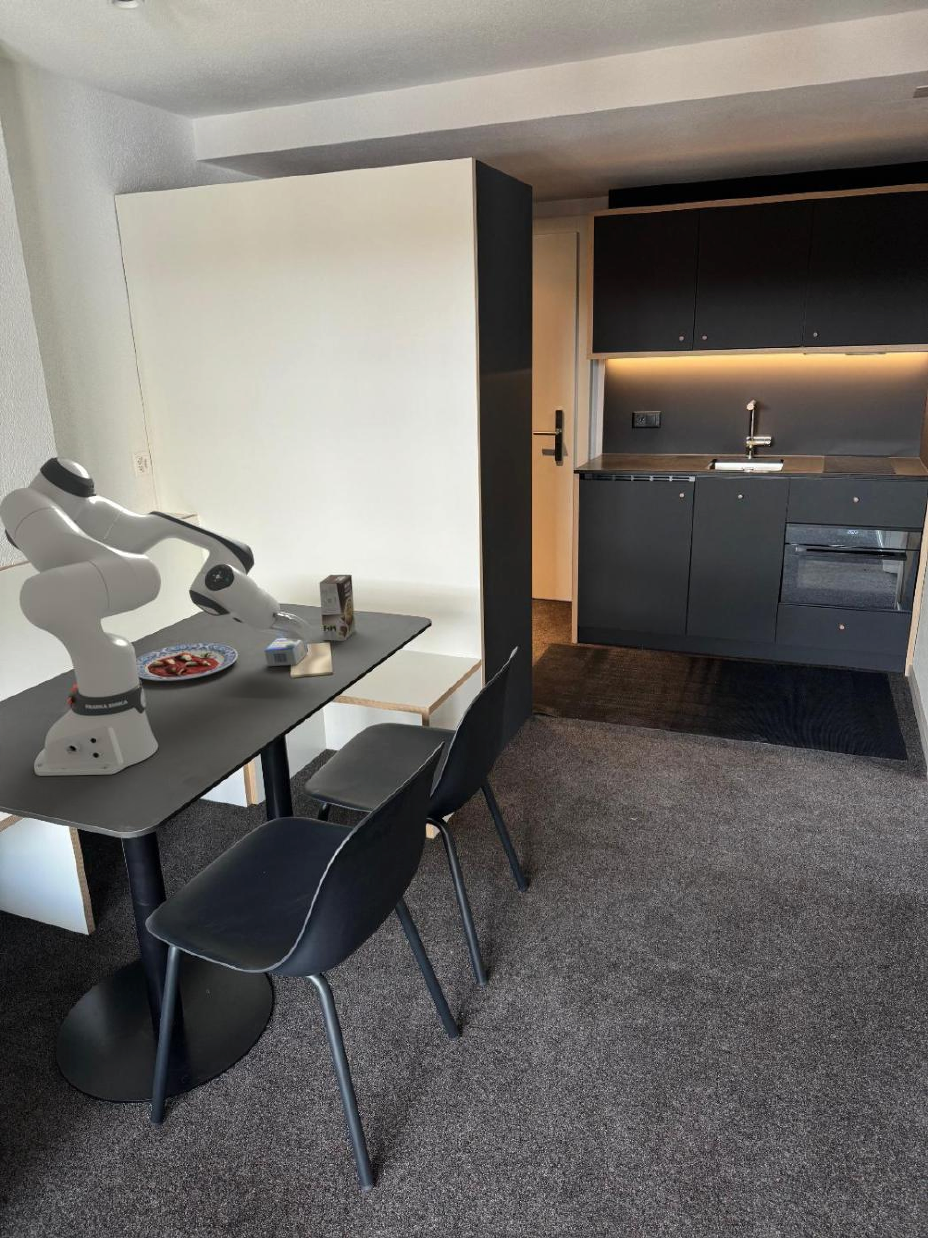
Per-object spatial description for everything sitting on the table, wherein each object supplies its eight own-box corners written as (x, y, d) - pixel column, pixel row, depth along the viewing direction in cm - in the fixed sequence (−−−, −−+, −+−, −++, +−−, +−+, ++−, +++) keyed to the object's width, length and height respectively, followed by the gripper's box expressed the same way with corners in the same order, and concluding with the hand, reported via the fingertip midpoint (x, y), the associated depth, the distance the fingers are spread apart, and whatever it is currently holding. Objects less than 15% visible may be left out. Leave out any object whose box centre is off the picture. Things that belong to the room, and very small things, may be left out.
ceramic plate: (156, 697, 201) (154, 684, 200) (115, 668, 220) (113, 657, 219) (257, 668, 217) (255, 656, 216) (210, 644, 236) (209, 633, 235)
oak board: (290, 677, 209) (290, 675, 209) (291, 647, 230) (291, 645, 230) (332, 673, 211) (332, 671, 211) (329, 644, 232) (329, 642, 232)
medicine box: (263, 650, 216) (276, 637, 224) (267, 667, 217) (280, 653, 225) (293, 648, 214) (305, 635, 222) (297, 665, 216) (308, 651, 223)
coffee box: (345, 641, 234) (341, 583, 229) (322, 640, 235) (318, 582, 230) (356, 630, 242) (352, 574, 237) (334, 629, 244) (330, 573, 239)
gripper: (297, 606, 202) (330, 634, 213) (237, 594, 213) (271, 621, 224) (285, 629, 200) (318, 657, 211) (225, 616, 211) (259, 643, 222)
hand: (293, 638), depth 217 cm, fingers closed
